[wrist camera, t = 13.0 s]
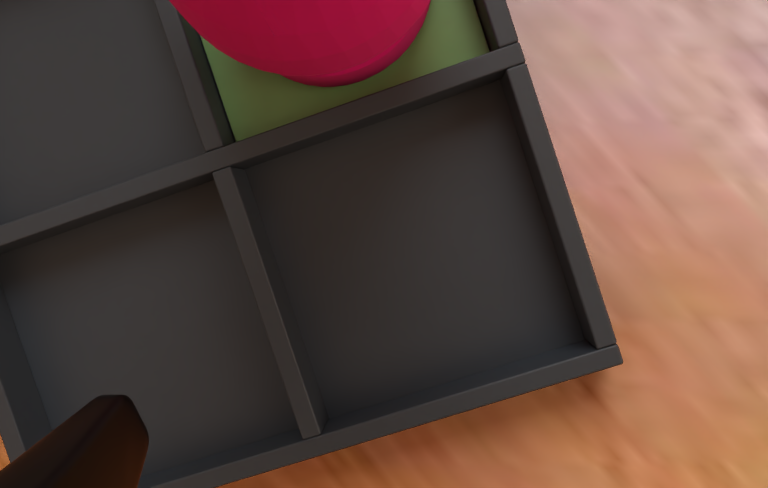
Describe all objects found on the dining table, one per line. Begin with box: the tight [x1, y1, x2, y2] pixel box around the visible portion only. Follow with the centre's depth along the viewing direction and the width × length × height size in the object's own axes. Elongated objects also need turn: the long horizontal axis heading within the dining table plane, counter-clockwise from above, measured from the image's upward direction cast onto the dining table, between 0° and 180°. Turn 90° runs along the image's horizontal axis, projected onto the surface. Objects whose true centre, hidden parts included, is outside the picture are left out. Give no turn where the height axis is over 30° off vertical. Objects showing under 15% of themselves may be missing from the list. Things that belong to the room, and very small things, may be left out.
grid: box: [0, 0, 623, 488], centre depth 19 cm, size 18×18×2 cm
